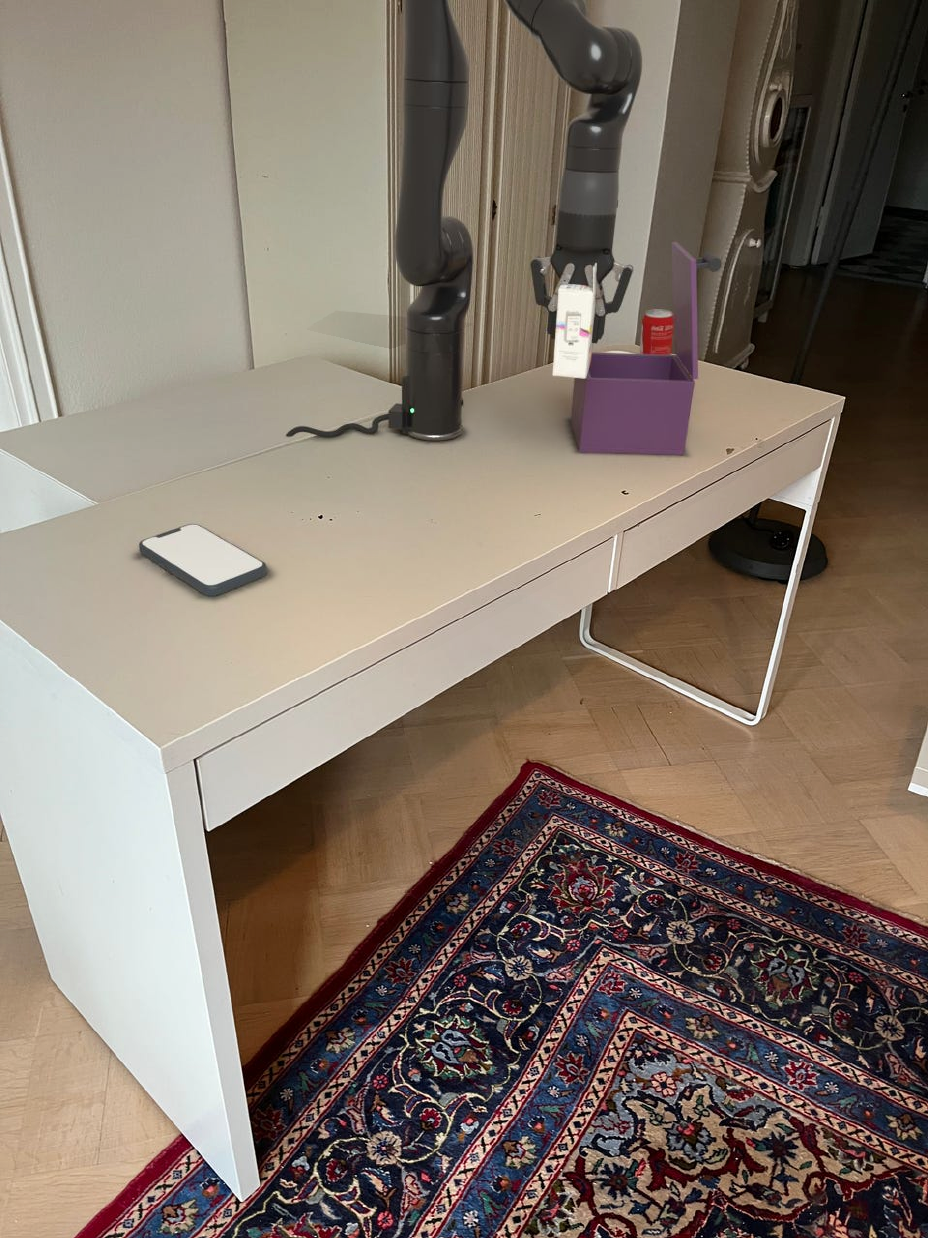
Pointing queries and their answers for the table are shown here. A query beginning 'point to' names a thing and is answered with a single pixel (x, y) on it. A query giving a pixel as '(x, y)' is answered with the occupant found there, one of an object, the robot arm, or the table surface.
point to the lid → (688, 303)
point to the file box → (632, 404)
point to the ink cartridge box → (574, 329)
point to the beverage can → (657, 332)
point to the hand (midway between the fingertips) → (574, 339)
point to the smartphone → (203, 559)
